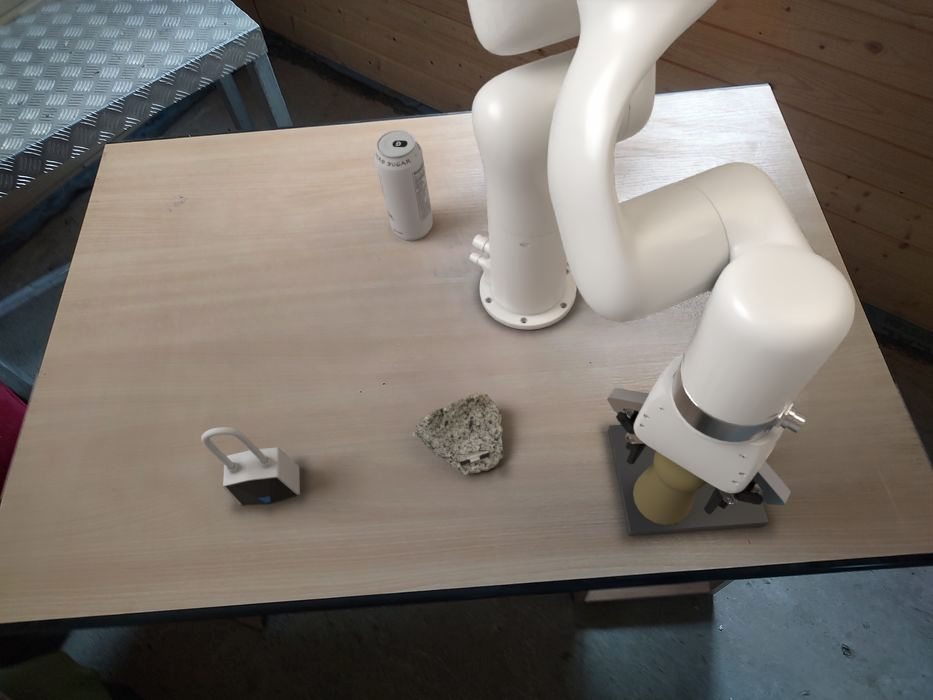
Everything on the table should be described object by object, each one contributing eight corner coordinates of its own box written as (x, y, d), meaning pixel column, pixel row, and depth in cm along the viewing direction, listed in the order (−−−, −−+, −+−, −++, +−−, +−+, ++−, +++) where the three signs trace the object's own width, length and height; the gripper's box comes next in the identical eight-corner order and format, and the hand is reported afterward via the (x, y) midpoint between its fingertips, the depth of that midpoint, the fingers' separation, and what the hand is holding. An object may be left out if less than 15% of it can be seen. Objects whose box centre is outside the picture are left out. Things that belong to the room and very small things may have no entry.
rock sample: (461, 496, 63) (444, 414, 62) (420, 484, 70) (403, 409, 68) (532, 460, 70) (518, 385, 68) (489, 452, 76) (474, 383, 74)
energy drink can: (396, 211, 91) (377, 126, 78) (436, 213, 90) (424, 127, 77) (388, 242, 88) (367, 158, 75) (429, 244, 87) (415, 160, 74)
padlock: (239, 509, 68) (177, 457, 56) (241, 473, 71) (181, 415, 58) (299, 498, 69) (250, 444, 56) (299, 463, 71) (252, 403, 58)
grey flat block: (628, 536, 64) (632, 528, 62) (607, 426, 71) (610, 415, 68) (764, 526, 64) (775, 517, 61) (730, 417, 70) (738, 405, 68)
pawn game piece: (698, 481, 65) (729, 439, 56) (684, 534, 62) (713, 499, 53) (642, 460, 67) (663, 415, 58) (625, 510, 64) (644, 472, 55)
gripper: (870, 415, 43) (778, 497, 58) (646, 298, 49) (615, 400, 64) (828, 500, 40) (743, 564, 55) (595, 365, 46) (575, 455, 61)
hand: (674, 475), depth 60 cm, fingers open, 7 cm apart
